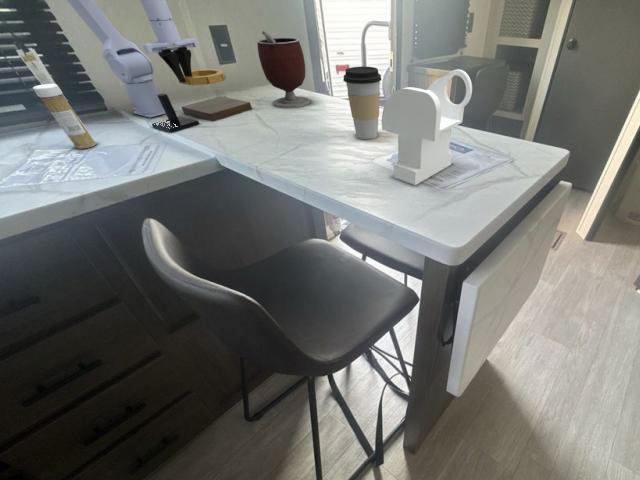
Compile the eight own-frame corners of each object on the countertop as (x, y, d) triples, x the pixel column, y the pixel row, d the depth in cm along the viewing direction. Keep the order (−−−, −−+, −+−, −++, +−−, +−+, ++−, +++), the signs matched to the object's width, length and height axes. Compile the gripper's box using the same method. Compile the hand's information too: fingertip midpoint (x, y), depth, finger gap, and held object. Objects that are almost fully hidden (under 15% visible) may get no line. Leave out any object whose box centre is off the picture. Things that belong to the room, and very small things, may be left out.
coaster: (184, 113, 102) (180, 106, 100) (223, 102, 111) (221, 96, 109) (213, 121, 96) (210, 113, 95) (252, 109, 105) (250, 102, 104)
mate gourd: (281, 97, 116) (263, 25, 101) (317, 98, 114) (304, 25, 100) (262, 109, 105) (240, 30, 91) (302, 110, 104) (285, 31, 89)
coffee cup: (389, 132, 88) (387, 67, 77) (373, 144, 82) (369, 75, 71) (360, 128, 91) (354, 64, 80) (343, 138, 85) (334, 71, 74)
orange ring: (172, 81, 95) (169, 74, 94) (208, 74, 102) (206, 67, 101) (197, 86, 90) (195, 79, 89) (234, 78, 98) (231, 71, 97)
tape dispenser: (421, 154, 77) (426, 64, 64) (467, 168, 71) (481, 72, 58) (383, 174, 69) (379, 76, 56) (431, 191, 64) (438, 86, 51)
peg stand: (153, 127, 92) (136, 96, 86) (181, 119, 98) (168, 89, 92) (171, 132, 89) (155, 100, 83) (199, 124, 94) (186, 93, 89)
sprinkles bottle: (98, 142, 84) (58, 82, 74) (95, 147, 81) (53, 86, 72) (77, 144, 83) (34, 84, 73) (73, 150, 80) (28, 88, 70)
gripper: (142, 22, 77) (171, 87, 87) (195, 18, 86) (216, 78, 96) (126, 21, 80) (156, 84, 90) (179, 17, 88) (201, 75, 98)
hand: (186, 81), depth 93 cm, fingers closed on orange ring, 2 cm apart
